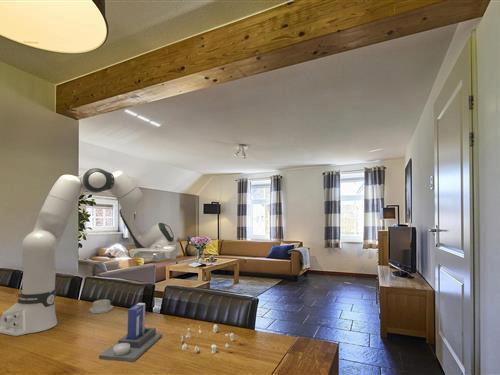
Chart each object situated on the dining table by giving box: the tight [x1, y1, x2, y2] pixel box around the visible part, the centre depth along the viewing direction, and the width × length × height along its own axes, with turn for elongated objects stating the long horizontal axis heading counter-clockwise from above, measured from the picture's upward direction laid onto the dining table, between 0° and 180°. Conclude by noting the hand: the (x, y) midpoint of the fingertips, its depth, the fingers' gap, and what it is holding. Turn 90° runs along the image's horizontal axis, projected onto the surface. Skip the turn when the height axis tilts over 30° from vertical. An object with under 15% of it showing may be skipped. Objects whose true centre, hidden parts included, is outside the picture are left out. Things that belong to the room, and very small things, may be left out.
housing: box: [98, 327, 163, 362], centre depth 105 cm, size 12×20×3 cm, turn 171°
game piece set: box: [180, 324, 235, 354], centre depth 110 cm, size 19×20×4 cm
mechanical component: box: [89, 299, 114, 314], centre depth 145 cm, size 10×4×10 cm
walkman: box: [126, 302, 146, 340], centre depth 109 cm, size 8×3×12 cm, turn 174°
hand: (144, 255), depth 130 cm, fingers open, 8 cm apart
